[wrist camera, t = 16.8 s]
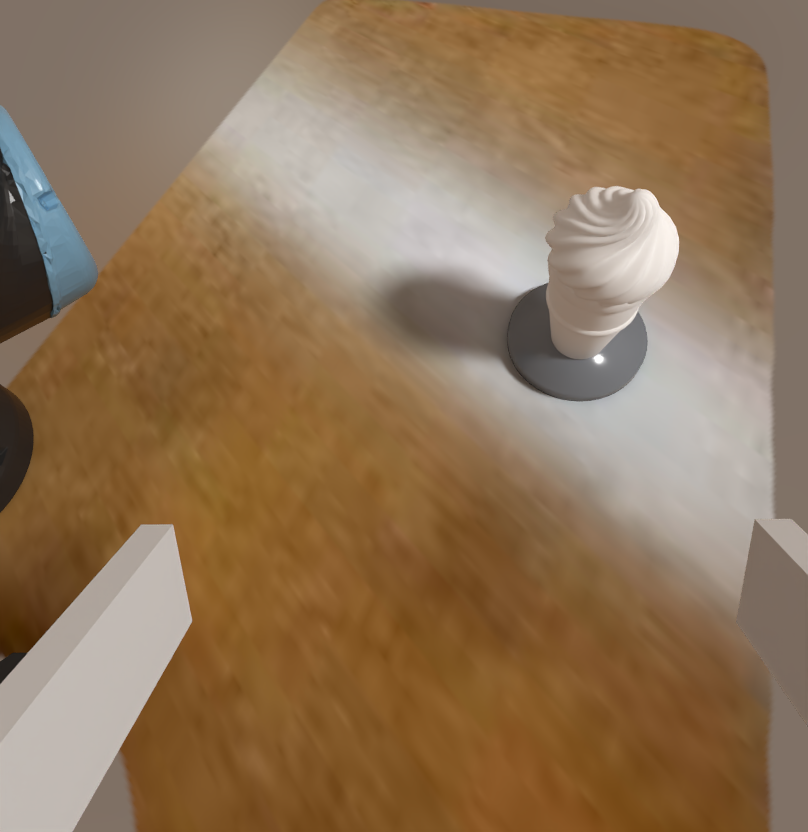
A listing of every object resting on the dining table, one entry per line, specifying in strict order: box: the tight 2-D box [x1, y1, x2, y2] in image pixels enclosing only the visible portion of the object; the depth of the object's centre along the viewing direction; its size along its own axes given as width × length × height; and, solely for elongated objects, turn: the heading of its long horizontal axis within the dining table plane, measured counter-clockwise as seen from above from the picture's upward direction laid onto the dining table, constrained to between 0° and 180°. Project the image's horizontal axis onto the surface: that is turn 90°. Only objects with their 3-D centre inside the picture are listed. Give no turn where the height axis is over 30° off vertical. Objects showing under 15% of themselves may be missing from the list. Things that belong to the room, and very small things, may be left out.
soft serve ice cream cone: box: [545, 186, 679, 359], centre depth 42 cm, size 8×8×16 cm
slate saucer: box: [507, 283, 647, 401], centre depth 50 cm, size 11×11×1 cm
